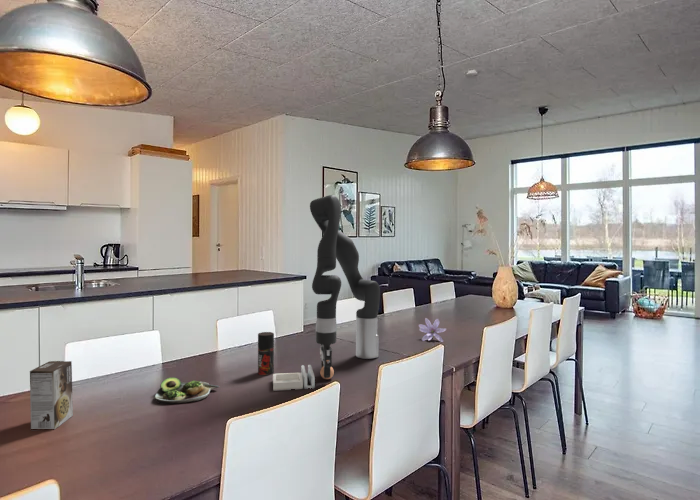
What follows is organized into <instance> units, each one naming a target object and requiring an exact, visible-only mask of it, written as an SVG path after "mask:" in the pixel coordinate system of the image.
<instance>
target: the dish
mask: <svg viewBox="0 0 700 500" xmlns="http://www.w3.org/2000/svg"><path fill="white" fill-rule="evenodd" d="M291 389H295V390H303V389H304V385H303V379H302V375H301V371H300V372H285V373H284V372H282V373H273V374H272V392H274V391H275V392H276V391H277V392H278V391H291Z"/></svg>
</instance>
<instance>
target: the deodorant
mask: <svg viewBox="0 0 700 500" xmlns="http://www.w3.org/2000/svg"><path fill="white" fill-rule="evenodd" d="M274 372H275V332H271V331H261V332H259V333H257V374H258V375H259V376H270V375H273V374H275V373H274Z"/></svg>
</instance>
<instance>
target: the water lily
mask: <svg viewBox="0 0 700 500" xmlns="http://www.w3.org/2000/svg"><path fill="white" fill-rule="evenodd" d="M440 321H441V320H439V318H435V320H434V322H433V324H432V323H431V322H432V321H430V320H429V318H427V317H425V318H424V322H425V324H423V323H422V324H418V327H419V331H420V332H422V333H424V335H423V336H422V338H421V341H422V342H424V341H427V340H428V341H431V340H432V339H434V338H435V339H436V340H438V341H439V342H440V343H441V342H442V343H444V339H443V337H442V336H441V335H440V333H443V332H445V331H447V328H441V327H439V325H440V323H441V322H440ZM425 333H426V334H425Z"/></svg>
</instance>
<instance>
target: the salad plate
mask: <svg viewBox="0 0 700 500" xmlns="http://www.w3.org/2000/svg"><path fill="white" fill-rule="evenodd" d="M159 387H160V388H159V389H158V390H157V392H156V393H155V395H154V398H153V400H154V402H156V403H158V404H161V405H162V404H163V405H174V404H182V403H185V404H186V403H191V402H196V401H200V400H204V399H205V398H208V396H209V395H210V392H211V391H212V390H213V389H217V388H220V386H219V385H215V384H209V382H205V381H200V380H199V381H198V380H191V381H189V382H187V381H185V382H184V381H181V379H179V378H177V377H167V378H165V379H163V381H162V382H161V383H160V385H159ZM192 396H193V398H189V397H192ZM195 396H196V397H195ZM186 398H187V399H186Z"/></svg>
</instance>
